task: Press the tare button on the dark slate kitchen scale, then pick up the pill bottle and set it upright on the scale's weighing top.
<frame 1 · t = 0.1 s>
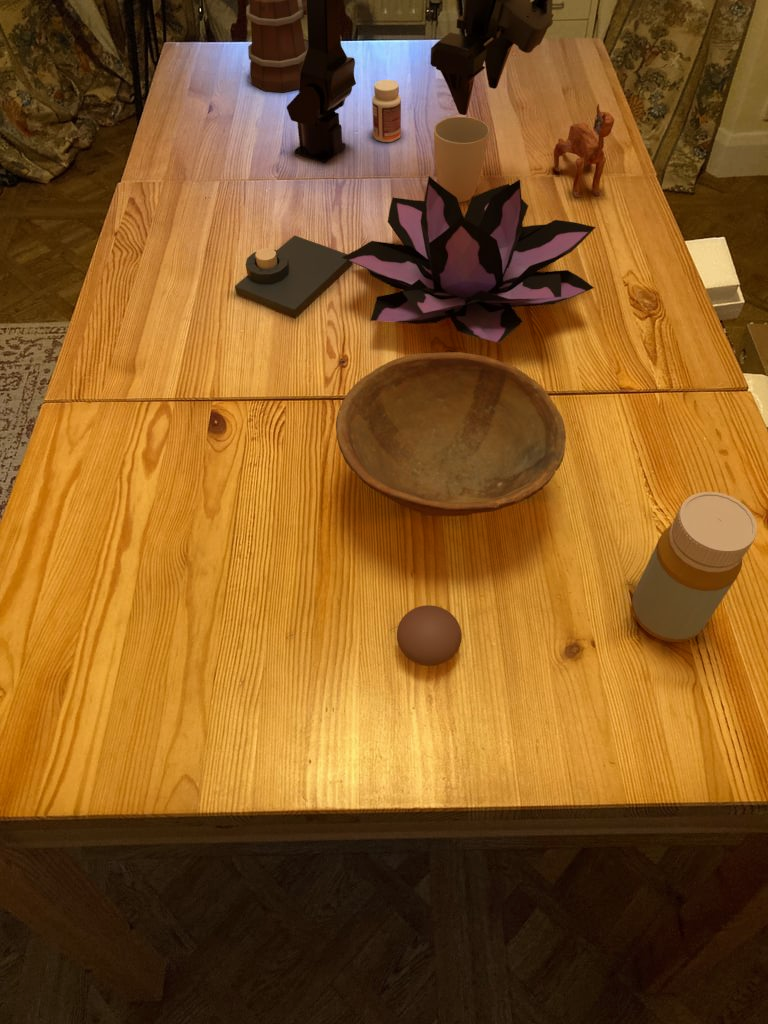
hand: (478, 100, 108), 15 cm above the table, tool pointing down, fingers open, 9 cm apart
bowl: (445, 486, 85), on the table
brown flattened ball: (428, 646, 73), on the table
cup: (457, 194, 121), on the table
decorative flower: (464, 296, 105), on the table
orange animal figurine: (574, 175, 124), on the table
bottle: (665, 614, 75), on the table
mug: (293, 78, 146), on the table
tare button: (266, 258, 105), point 3 cm above the table, slide at 0.1 cm
scale: (295, 279, 107), on the table
pill bottle: (387, 137, 132), on the table
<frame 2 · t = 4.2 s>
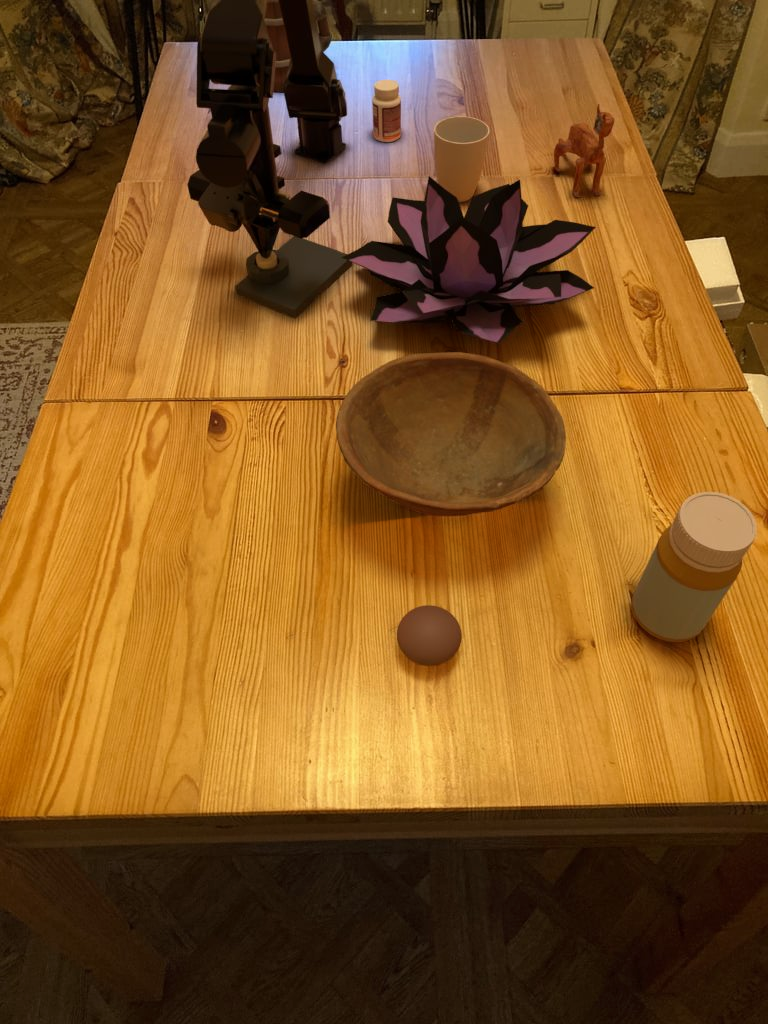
hand: (266, 256, 104), 4 cm above the table, tool pointing down, fingers closed, pressing on tare button
tare button: (266, 261, 105), point 3 cm above the table, slide at -0.3 cm, touching gripper
everything else where it was.
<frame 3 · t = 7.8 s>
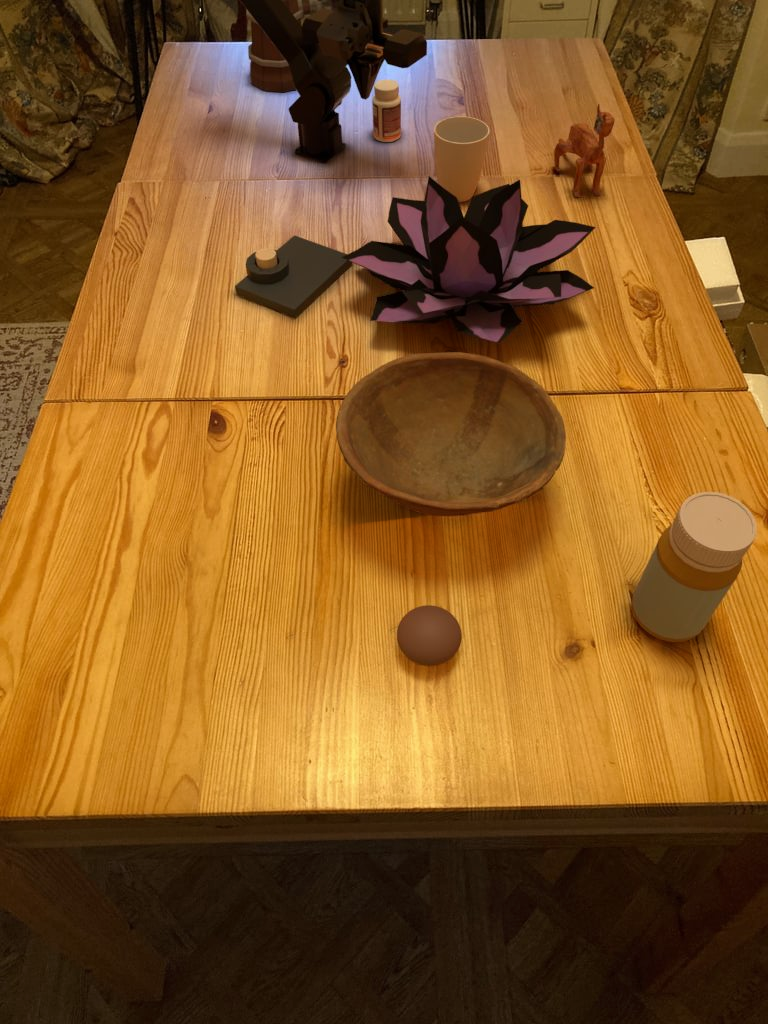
hand: (365, 98, 119), 10 cm above the table, tool pointing down, fingers closed
tare button: (266, 258, 105), point 3 cm above the table, slide at 0.1 cm
everything else where it was.
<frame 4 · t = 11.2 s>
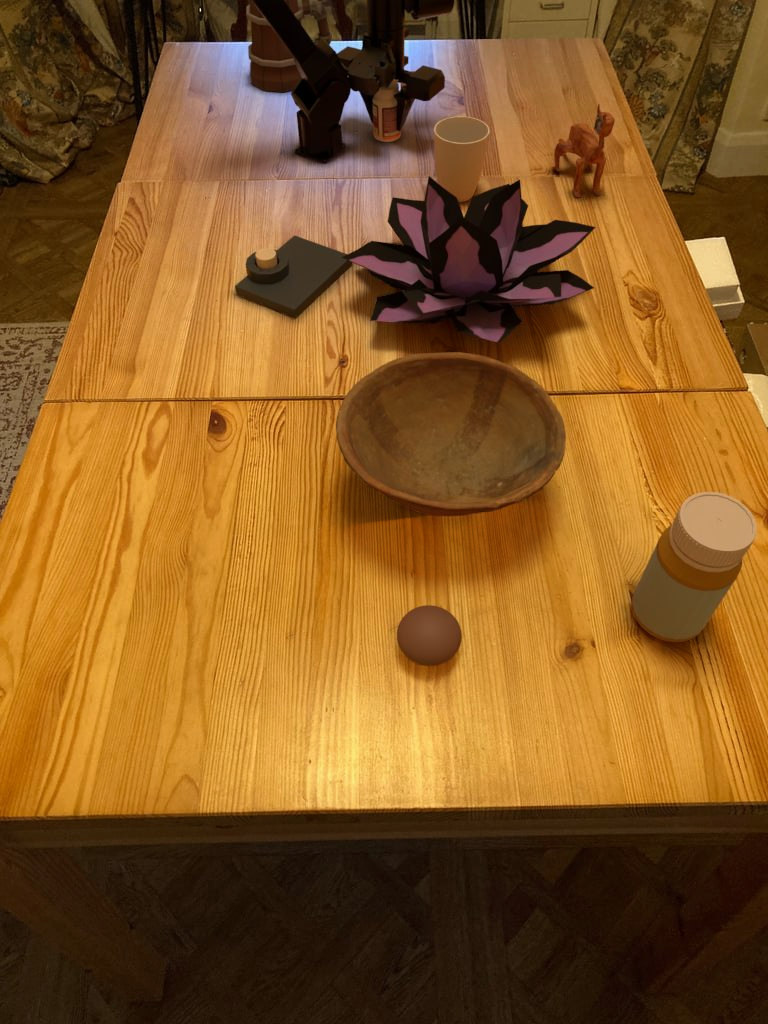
hand: (386, 126, 130), 2 cm above the table, tool pointing down, fingers closed on pill bottle, 5 cm apart
pill bottle: (387, 137, 132), on the table, touching gripper
everything else where it was.
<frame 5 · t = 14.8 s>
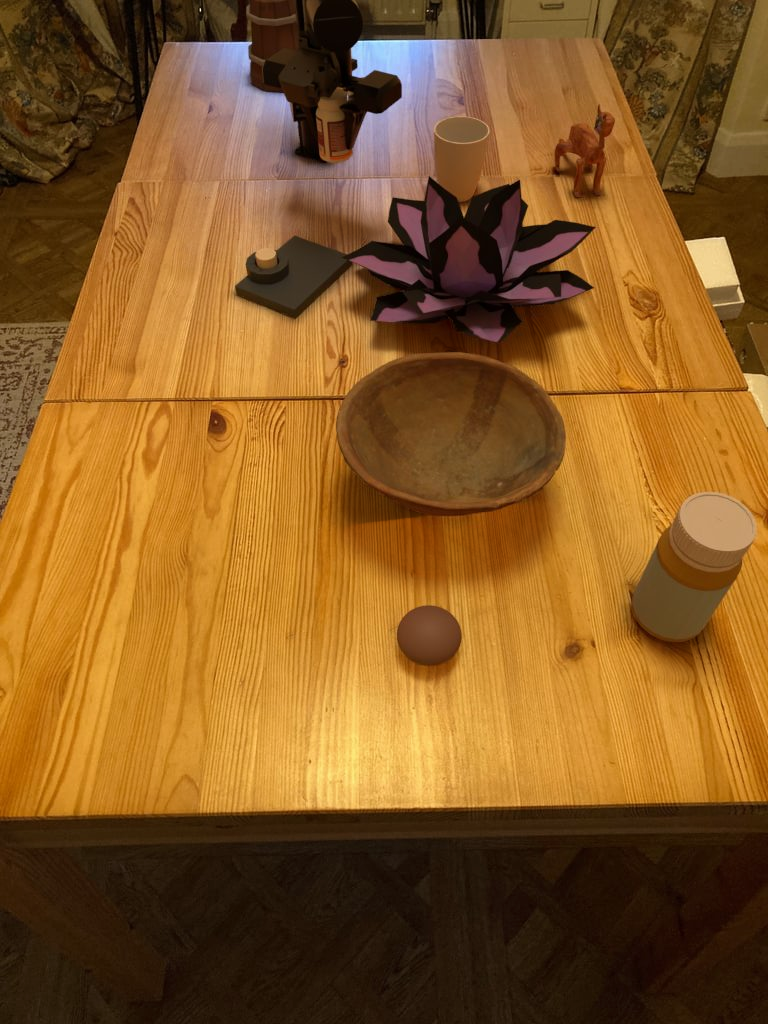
hand: (334, 144, 108), 11 cm above the table, tool pointing down, fingers closed on pill bottle, 5 cm apart
pill bottle: (336, 156, 109), point 9 cm above the table, touching gripper
everything else where it was.
when the fingers open (3 cm above the table, at t = 18.5 s): pill bottle stays where it is, resting on scale.
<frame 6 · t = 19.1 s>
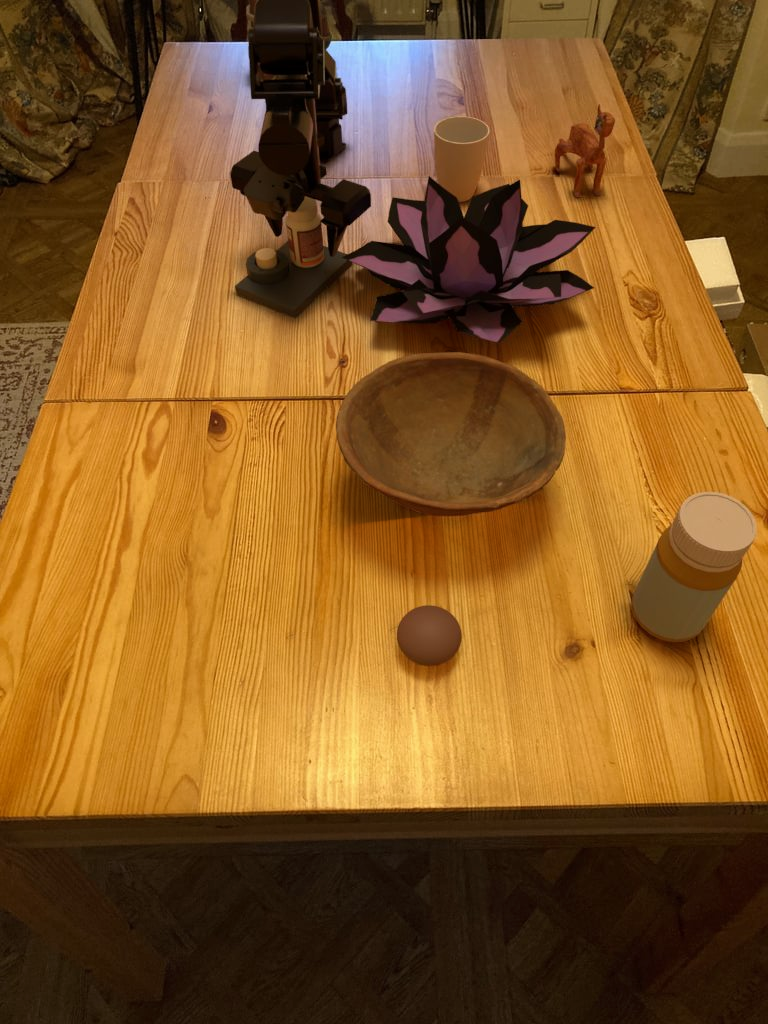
hand: (305, 245, 106), 4 cm above the table, tool pointing down, fingers open, 9 cm apart
pill bottle: (307, 259, 108), point 1 cm above the table, touching scale
everything else where it was.
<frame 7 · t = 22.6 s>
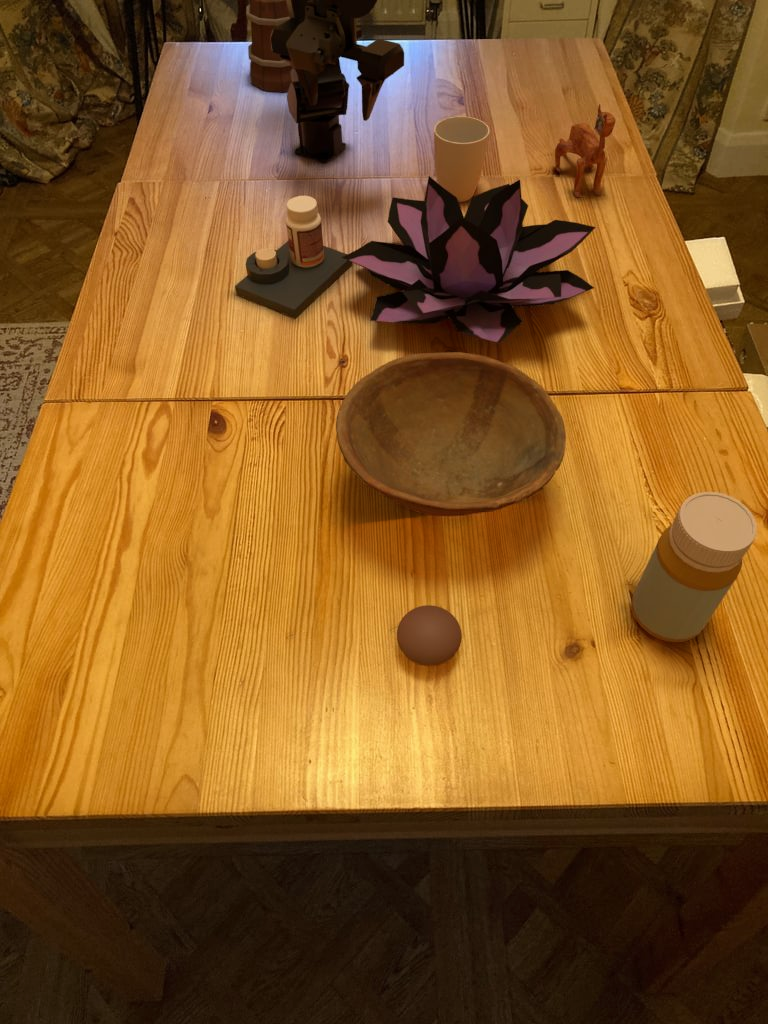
hand: (339, 111, 112), 12 cm above the table, tool pointing down, fingers open, 9 cm apart
nothing on the table moved.
at the end: tare button pushed in 0.9 cm at the most during the clip, back to where it started at the end; pill bottle inside the target area on the scale (0.7 cm from its centre), point 1.2 cm above the scale's base; pill bottle tilted 0° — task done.
